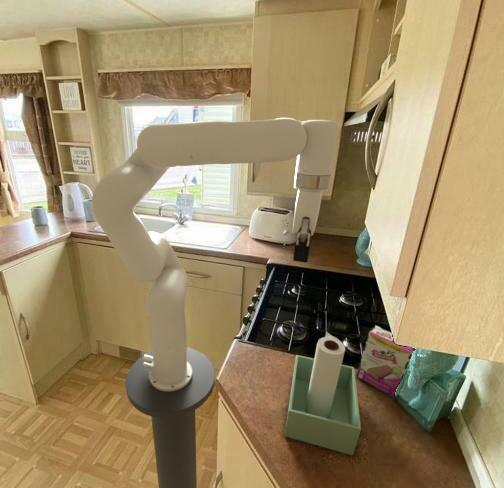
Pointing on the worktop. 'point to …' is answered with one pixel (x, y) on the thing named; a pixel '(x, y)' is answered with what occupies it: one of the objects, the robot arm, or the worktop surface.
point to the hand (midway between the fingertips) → (301, 253)
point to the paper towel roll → (324, 376)
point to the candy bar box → (383, 361)
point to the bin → (341, 415)
